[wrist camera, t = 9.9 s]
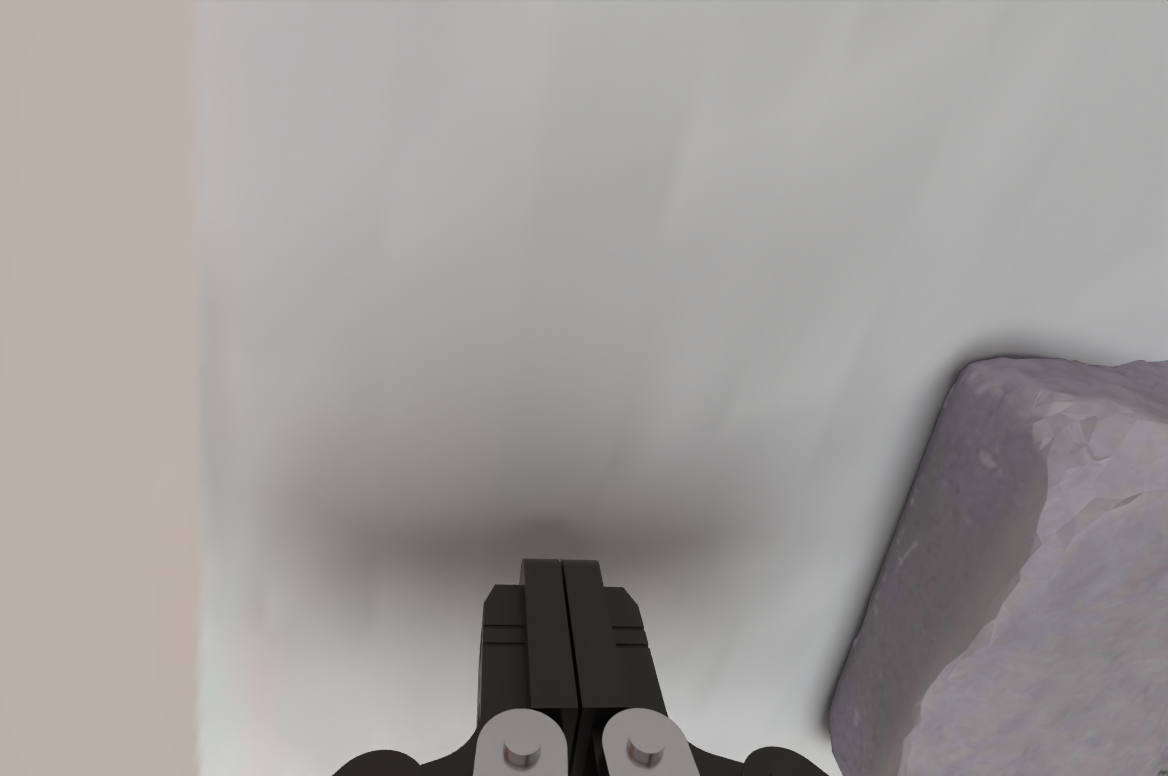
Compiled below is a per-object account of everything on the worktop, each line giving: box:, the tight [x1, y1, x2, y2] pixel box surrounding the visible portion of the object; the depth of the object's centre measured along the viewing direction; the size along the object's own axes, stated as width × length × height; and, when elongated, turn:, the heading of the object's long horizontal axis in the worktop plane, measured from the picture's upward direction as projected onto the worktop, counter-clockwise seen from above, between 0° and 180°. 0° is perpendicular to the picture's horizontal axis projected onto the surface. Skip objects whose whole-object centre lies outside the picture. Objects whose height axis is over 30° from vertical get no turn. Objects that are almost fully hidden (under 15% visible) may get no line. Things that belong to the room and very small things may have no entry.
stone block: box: [829, 357, 1168, 776], centre depth 16 cm, size 12×5×10 cm
